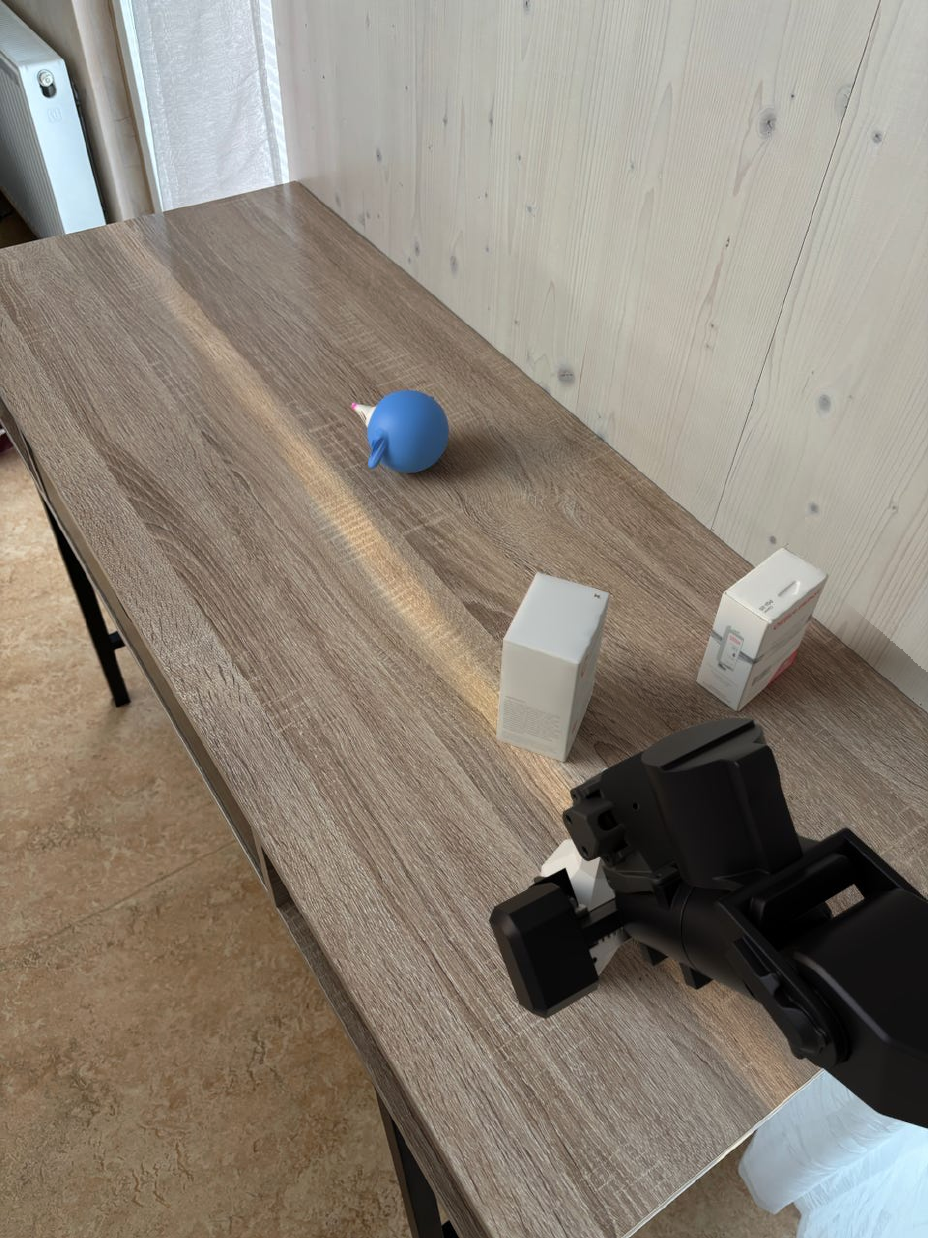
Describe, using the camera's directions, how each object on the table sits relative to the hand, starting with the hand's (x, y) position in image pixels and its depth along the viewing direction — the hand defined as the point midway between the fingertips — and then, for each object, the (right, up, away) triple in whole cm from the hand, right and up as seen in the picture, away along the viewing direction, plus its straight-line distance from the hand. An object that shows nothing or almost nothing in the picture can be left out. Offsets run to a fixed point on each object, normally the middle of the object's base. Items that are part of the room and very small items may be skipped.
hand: (581, 861), depth 65 cm
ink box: (+18, +11, +26) cm, 33 cm away
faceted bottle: (0, -9, +7) cm, 11 cm away
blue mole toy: (-15, +33, +45) cm, 58 cm away
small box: (-1, +7, +22) cm, 23 cm away
